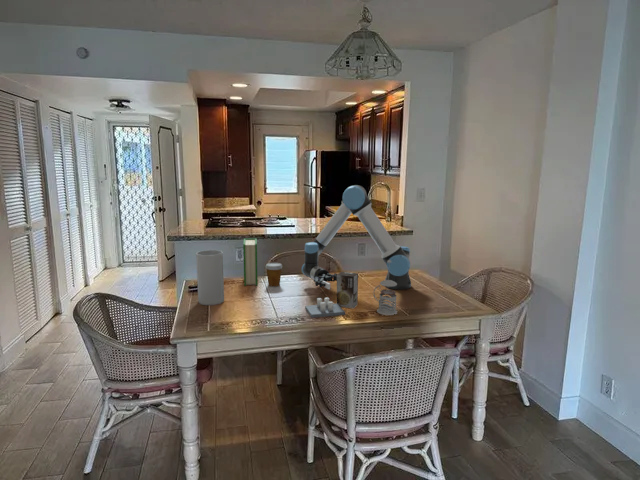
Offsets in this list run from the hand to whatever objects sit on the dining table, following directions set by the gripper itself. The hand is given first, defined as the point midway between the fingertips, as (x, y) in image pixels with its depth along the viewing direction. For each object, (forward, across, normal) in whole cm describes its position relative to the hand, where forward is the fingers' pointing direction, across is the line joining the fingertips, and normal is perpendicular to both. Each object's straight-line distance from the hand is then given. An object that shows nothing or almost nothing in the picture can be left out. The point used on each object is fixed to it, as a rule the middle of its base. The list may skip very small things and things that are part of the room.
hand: (341, 284), depth 208 cm
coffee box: (+4, -1, -10) cm, 11 cm away
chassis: (+7, +13, -9) cm, 18 cm away
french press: (+20, -12, -10) cm, 25 cm away
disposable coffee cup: (-45, +17, -10) cm, 49 cm away
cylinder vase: (-32, +56, -10) cm, 65 cm away
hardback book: (-57, +26, -10) cm, 64 cm away
